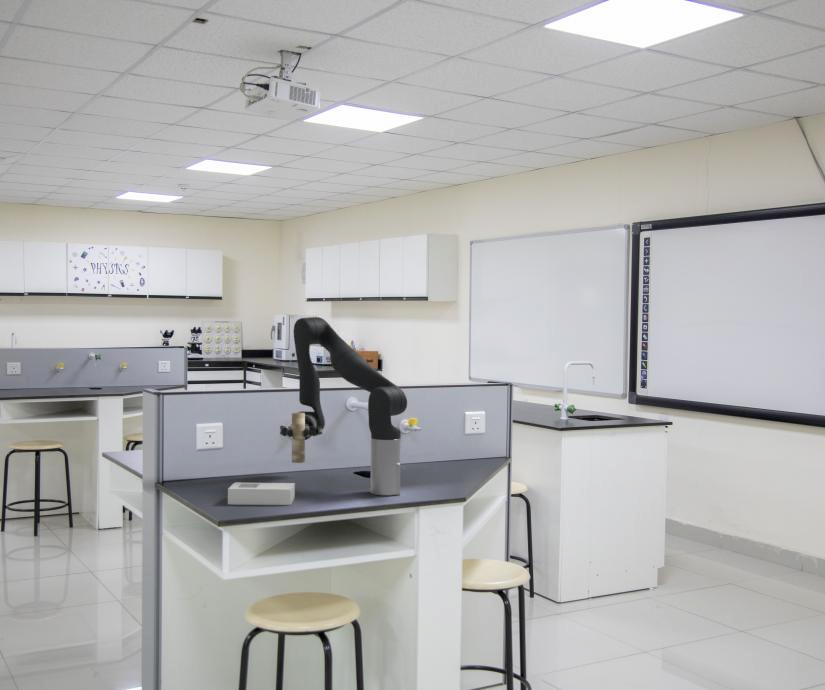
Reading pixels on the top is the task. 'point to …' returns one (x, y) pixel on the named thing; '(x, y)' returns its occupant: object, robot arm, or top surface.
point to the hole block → (261, 493)
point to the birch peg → (298, 437)
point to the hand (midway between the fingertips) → (297, 433)
